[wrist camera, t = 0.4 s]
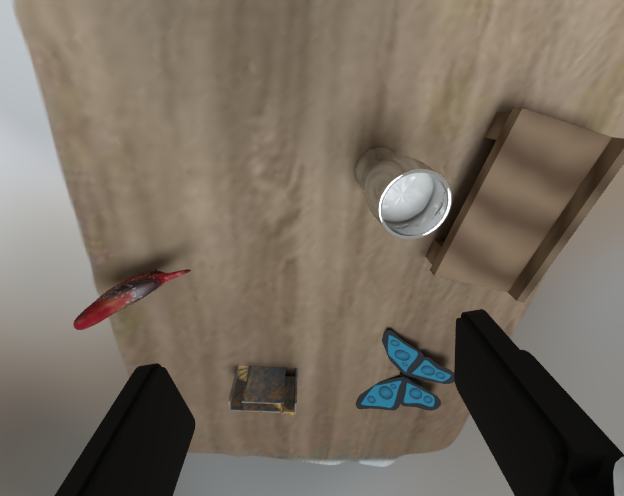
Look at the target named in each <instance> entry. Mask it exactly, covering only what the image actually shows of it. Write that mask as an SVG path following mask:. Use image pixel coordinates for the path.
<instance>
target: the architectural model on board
mask: <svg viewBox="0 0 624 496" xmlns="http://www.w3.org/2000/svg"><path fill="white" fill-rule="evenodd" d="M285 370H286V368H274V367H253V366H237V368H236V372H235V376H234V380H233V384H232V388H231V392H230V396H229V400H228V403H229V411H245V412H274V413H281V414H283V413H286V414H288V415H290V416H293V417H294V414H295V413H296V405H297V368H296V372H295V377H291V376H285Z"/></svg>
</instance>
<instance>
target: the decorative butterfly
mask: <svg viewBox="0 0 624 496" xmlns="http://www.w3.org/2000/svg"><path fill="white" fill-rule="evenodd" d="M382 342H383V345H384V347H385V350H386V352H387V355H388V357H389V359H390V360H391V362H392V363H393V364H394V365H395V366H396V367H397V368H398V369H399V370H400V371H401V373H400V375H401V376H404V377H397V378H393V379H389V380H385V381H381V382H379V383H377V384H376V385H374V386H373V387H371V388H370V389H368V390H367V391H365V392H364V393H362V394H361V395H360V396H359V398H358V401H357V405H356V406H357V408H358V409H368V408H373V409H385V410H396V409H397V408H398V407H399V405H400V403H401V405H403V406H410V407H418V408H422V409H425V410H435V409H437V408H439V406H440V405H441V401H440V399H439V398H438V397H437V396H436V395H435V394H433V393H431V392H430V391H428V390H426V389H425V388H423V387H422V386H421V384H420V383H419V382H418V381H417V380H415V379H413V378H417V379H423V380H428V381H433V382H438V383H443V384H450V383H453V382H454V381H455V380H454V373H453V372H452V371H451V370H449V369H447V368H444V367H442V366H440V365H438V364H437V363H435V362H434V361H433V360H432V359H430V358H429V357H423V354H422V352H420V351H419V350H417V349H415V348H414V347H412V346H411V345H409V344H408V343H406V342H405V341H403V340H402V339H401V338H399V337H398V336H397V335H396V334H395V333H394V332H393V331H391V330H387V331H386V332H385V334H384V336H383V338H382ZM411 377H412V378H411Z"/></svg>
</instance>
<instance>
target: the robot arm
mask: <svg viewBox="0 0 624 496" xmlns="http://www.w3.org/2000/svg"><path fill="white" fill-rule="evenodd" d="M454 380H455V384H456V387H457V390H458V392H459V394H460V395H461V397H462V399H463V401H464V403H465V405H466V406H467V408H468V410H469V412H470V414H471V416H472V418H473V419H474V421H475V423H476V425H477V427H478V429H479V430H480V432H481V434H482V436H483V438H484V440H485V441H486V443H487V445H488V447H489V449H490V451H491V452H492V454H493V456H494V458H495V460H496V461H497V464H498V465H499V467H500V469H501V471H502V473H503V475H504V476H505V478H506V480H507V482H508V484H509V486H510V487H511V489H512V491H513V493H514V495H515V496H624V454H623V453H622V452H621V451H620V450H619V449H618V448H617V447H616V446H615V444H614V443H613V442H612V441H611V440H610V439H609V438H608V437H607V436H606V435H605V434H604V432H603V431H602V430H601V429H600V428H599V427H598V426H597V425H596V424H595V423H594V422H593V420H592V419H591V418H590V417H589V416H588V415H587V414H586V413H585V412H584V411H583V410H582V409H581V407H579V405H578V404H577V403H576V402H575V401H574V400H573V399H572V398H571V397H570V395H569V394H568V393H567V392H566V391H565V390H564V389H563V388H562V387H561V386H560V385H559V384H558V383H557V381H556V380H555V379H554V378H553V377H552V376H551V375H550V374H549V373H548V372H547V371H546V370H545V368H544V367H543V366H542V365H541V364H540V363H539V362H538V361H537V360H536V358H535V357H534V356H532V355H531V354H530V353H529V352H527V351H525V350H520V349H519V348H518V347H517V346H516V345H515V344H514V343H513V342H512V340H511V339H510V338H509V337H508V336H507V335H506V334H505V333H504V331H503V330H502V329H501V328H500V327H499V326H498V325H497V323H496V322H495V321H494V320H493V319H492V318H491V317H490V316H489V314H488V313H487V312H486V311H485V310H482V309H480V310H474V311H468V312H463V313H462V314H461V318H457V320H456V339H455V371H454ZM194 430H195V419H194V417H193V415H192V413H191V412H190V410H189V408H188V406H187V405H186V403H185V401H184V399H183V398H182V396H181V394H180V392H179V391H178V389H177V387H176V385H175V384H174V382H173V380H172V378H171V377H170V375H169V373H168V372H167V370H166V368H164V367H161V365H160V364H158V363H157V364H150V365H144V366H139V367H137V368H136V369H135V370H134V372H133V374H132V375H131V377H130V378H129V380H128V381H127V383H126V385H125V386H124V388H123V389H122V391H121V392H120V394H119V396H118V397H117V399H116V400H115V402H114V403H113V405H112V406H111V408H110V410H109V411H108V413H107V414H106V416H105V418H104V419H103V421H102V422H101V424H100V425H99V427H98V429H97V430H96V432H95V433H94V435H93V436H92V438H91V440H90V441H89V443H88V444H87V446H86V447H85V449H84V451H83V452H82V454H81V455H80V457H79V458H78V460H77V461H76V463H75V464H74V466H73V468H72V469H71V471H70V472H69V474H68V476H67V477H66V479H65V480H64V482H63V484H62V485H61V486H60V488H59V490H58V491H57V493H56V494H55V496H173V493H174V490H175V487H176V484H177V481H178V478H179V475H180V472H181V469H182V466H183V463H184V460H185V457H186V454H187V451H188V448H189V445H190V442H191V439H192V436H193V433H194Z"/></svg>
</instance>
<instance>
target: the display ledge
mask: <svg viewBox="0 0 624 496" xmlns="http://www.w3.org/2000/svg"><path fill="white" fill-rule="evenodd" d="M485 137H486V138H489V139H492V140H495V141H496V142H495V144H494V146H493V148H492V150H491V152H490V154H489V156H488V158H487V160H486V162H485V164H484V166H483V167H482V169H481V171H480V173H479V175H478V177H477V179H476V181H475V183H474V185H473V187H472V189H471V191H470V193H469V195H468V197H467V199H466V201H465V203H464V204H463V206H462V208H461V210H460V212H459V214H458V216H457V218H456V220H455V222H454V224H453V226H452V228H451V230H450V232H449V234H448V236H447V238H446V240H445V241H444V242H442V241H438V240H434V241H433V243H432V245H431V247H430V249H429V251H428V253H427V255H426V257H427V259H428V260H429V261H430V263H431V264H432V267H431V269H430V271H431V272H432V273H433V275H434V276H438V277H442V278H447V279H451V280H456V281H460V282H464V283H469V284H473V285H478V286H482V287H486V288H491V289H495V290H500V291H504V292H508V293H509V294H510V295H511V296H512V297H513V298H514V299H515V300H516V301H520V302H525V300H526V299H527V298H528V296H529V295H530V293H531V292H532V291H533V289H534V288H535V286H536V285H537V284H538V282H539V281H540V280H541V278H542V277H543V275H544V274H545V273H546V271H547V270H548V268H549V267H550V266H551V264H552V263H553V261H554V260H555V259H556V257H557V256H558V254H559V253H560V252H561V250H562V249H563V248H564V246H565V245H566V243H567V242H568V240H569V239H570V238H571V236H572V235H573V234H574V232H575V231H576V229H577V228H578V227H579V225H580V224H581V222H582V221H583V220H584V218H585V217H586V215H587V214H588V213H589V211H590V210H591V209H592V207H593V206H594V204H595V203H596V202H597V200H598V199H599V197H600V196H601V194H602V193H603V192H604V190H605V189H606V188H607V186H608V185H609V183H610V182H611V181H612V179H613V178H614V177H615V175H616V174H617V172H618V171H619V170H620V168H621V166H622V165H623V164H624V139H622V138H613V137H610V136H607V135H604V134H601V133H597V132H594V131H591V130H588V129H585V128H582V127H579V126H576V125H573V124H570V123H567V122H564V121H561V120H558V119H555V118H552V117H549V116H546V115H543V114H540V113H536V112H533V111H530V110H527V109H524V108H513V109H512V111H511V113H497V114H496V116H495V118H494V120H493V122H492V124H491V126H490V128H489V130H488V132H487V134H486V136H485Z"/></svg>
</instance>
